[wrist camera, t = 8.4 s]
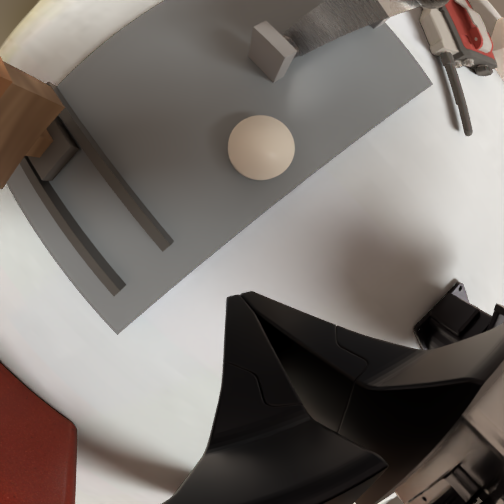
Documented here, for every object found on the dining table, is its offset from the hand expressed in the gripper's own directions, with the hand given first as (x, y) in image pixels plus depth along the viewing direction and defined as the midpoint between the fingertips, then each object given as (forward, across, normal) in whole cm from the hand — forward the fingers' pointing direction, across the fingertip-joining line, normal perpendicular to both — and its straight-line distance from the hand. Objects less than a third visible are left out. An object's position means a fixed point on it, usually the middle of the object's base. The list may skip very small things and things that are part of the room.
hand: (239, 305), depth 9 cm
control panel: (+12, -2, -8) cm, 14 cm away
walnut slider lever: (+12, +8, -7) cm, 16 cm away
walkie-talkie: (+8, -26, -16) cm, 31 cm away
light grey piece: (+8, -9, -12) cm, 17 cm away
